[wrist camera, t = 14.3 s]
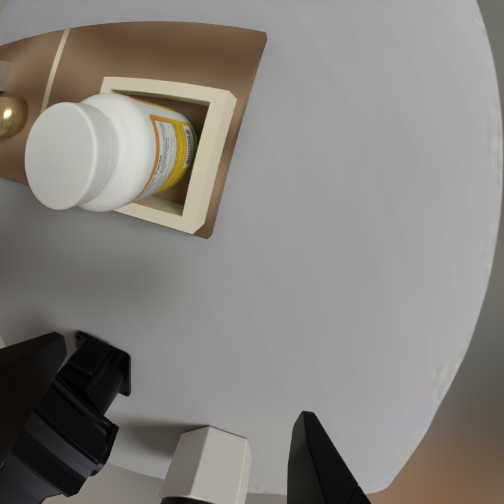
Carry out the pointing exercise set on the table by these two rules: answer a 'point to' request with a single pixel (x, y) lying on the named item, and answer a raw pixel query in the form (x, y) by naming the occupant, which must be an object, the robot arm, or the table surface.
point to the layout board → (133, 66)
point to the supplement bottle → (107, 152)
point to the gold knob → (12, 115)
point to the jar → (208, 469)
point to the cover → (4, 74)
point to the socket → (206, 157)
